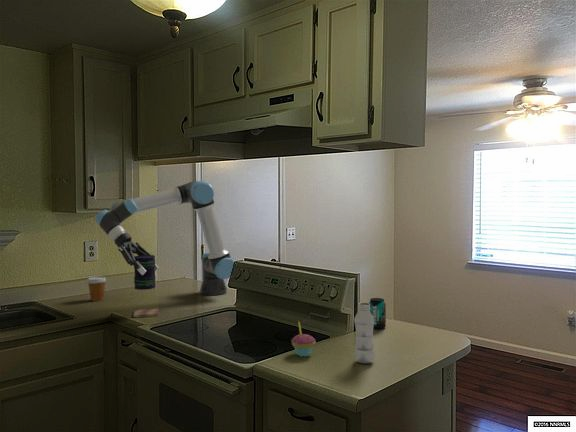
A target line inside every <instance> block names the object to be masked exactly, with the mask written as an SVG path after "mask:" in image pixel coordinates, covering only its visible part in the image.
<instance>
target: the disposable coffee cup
mask: <svg viewBox="0 0 576 432" xmlns="http://www.w3.org/2000/svg"><path fill="white" fill-rule="evenodd" d="M86 282H87V285H88V289H89V295H90V300H91V302H101V301H103V300H104V299H105V289H106V283H107V279H106V276H92V277H89V278H88V279H87V280H86Z"/></svg>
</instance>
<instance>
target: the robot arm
mask: <svg viewBox="0 0 576 432" xmlns="http://www.w3.org/2000/svg"><path fill="white" fill-rule="evenodd" d="M214 197H215V190H214V188H213V186H212V185H211V184H210V183H209V182H207V181H203V180H199V181H190V182H187V183H184V184H182V185H178V186H175V187H174V188H173V189H169V190H163V191H161V192H156V193H153V194H152V193H151V194H149V195H148V194H147V195H144V196H139V197H135V198H127V199H126V200H123V201H117V202H116V201H115V202H114V203H112V204H111V205H110V210H107V209H102V210H101V211H99V212H98V213H97V214H96V215H95V217H94V221H95V222H96V223H97V225H98V226H99V228H100V229H101V230H102V231H103V232H104V233H105V234H106V235H107V237H109V238H110V240H111V241H112V242H114V244H115V246H117V248H118V249H117V250H118V251H119V252H120V253H121V255H122V257H123V259H124V260H125V262H126V263H127V264H128V265H129V266H131V267H132V266H133V268H134V267H135V268H136V269H137V270H138V271H139V272H140V273H141V275H144V273H145V272H146V270H145V269H144V268H143V266H142V265H141V264H140V263H139V262H138V261H136V260H135V257H134V256H135V255H136V256H139V255H151V253H150V252H148V250H146V249H145V248H144V247H142V246H141V244H139V242H137V241H136V242H135V243H134V242H133V241H132V236H131V235H130V234H129V232H127V231H126V229H125V228H123V226H122V225H121V224H122V223H123V222H124V221H126V220H127V219H129V218H130V217H131V216H132V215H135V214H136V213H137V214H138V213H142V212H145V211H146V212H147V211H150V210H153V209H158V208H162V207H167V206H170V205H175V204H179V205H182V204H191V206H192V207H191V208H192V209H193V211H195V212H196V213H197V217H198V220H199V223H200V226H201V230H202V233H203V236H204V239H205V243H206V247H207V250H208V252H205V253H203V254H202V258H201V261H202V282H201V285H200V289H199V294H200V295H203V296H220V295H224V294H227V293H228V290H227V289H228V288H227V285H226V282H225V280H228V279H230V278H231V277H230V275H231V271H232V268H233V264H234V262H235V261H234V259H233V258H232V257H231V254H230V251H229V250H228V249H226V247H225V244H224V241H223V237H222V235H221V231H220V228H219V224H218V220H217V218H216V214H215V209H214V205H215V201H214ZM158 269H159V266H158V265H157V264H156V263H155V272H156V271H157V270H158Z"/></svg>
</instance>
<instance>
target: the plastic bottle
mask: <svg viewBox="0 0 576 432" xmlns="http://www.w3.org/2000/svg"><path fill="white" fill-rule="evenodd" d="M369 310H370V304H369V302H368V303H367V302H361V303H360V302H359V303H358V312H357V313H356V315H354V327H355V335H356V336H355V337H356V341H355V342H356V343H355V350H354V358H355V360H356V362H357V363H360V364H367V365H368V364H372V363H373V362H375V361H374V360H375V356H376V355H375V349H374V343H373V338H374V337H373V335H374V329H373V326H374V318H373V316H372V314H371V313H370V311H369Z"/></svg>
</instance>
